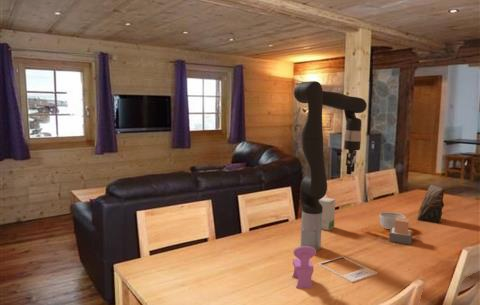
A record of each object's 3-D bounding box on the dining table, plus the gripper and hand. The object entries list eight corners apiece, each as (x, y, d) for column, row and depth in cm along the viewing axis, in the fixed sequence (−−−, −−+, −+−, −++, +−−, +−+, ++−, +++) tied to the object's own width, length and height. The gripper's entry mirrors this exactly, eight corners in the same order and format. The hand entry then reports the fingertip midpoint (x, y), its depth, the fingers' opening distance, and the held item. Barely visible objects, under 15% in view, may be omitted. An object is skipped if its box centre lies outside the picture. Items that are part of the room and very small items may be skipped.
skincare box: (328, 231, 192) (329, 202, 189) (316, 228, 195) (317, 199, 193) (334, 227, 198) (336, 198, 196) (323, 224, 202) (324, 196, 200)
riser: (411, 244, 174) (412, 236, 174) (389, 241, 179) (389, 232, 178) (411, 238, 183) (412, 230, 183) (390, 234, 188) (391, 226, 187)
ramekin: (400, 224, 204) (401, 212, 203) (408, 232, 191) (409, 220, 190) (376, 223, 205) (376, 211, 205) (382, 231, 192) (383, 218, 192)
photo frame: (352, 281, 136) (317, 263, 151) (351, 283, 136) (317, 265, 151) (377, 272, 144) (342, 255, 159) (377, 274, 144) (342, 258, 159)
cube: (407, 234, 176) (408, 222, 176) (394, 232, 179) (395, 220, 178) (408, 230, 182) (409, 218, 181) (394, 228, 184) (395, 217, 184)
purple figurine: (310, 276, 141) (312, 239, 139) (316, 288, 132) (318, 248, 130) (289, 276, 140) (290, 239, 138) (293, 288, 132) (294, 248, 130)
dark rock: (424, 215, 222) (427, 183, 219) (447, 220, 213) (450, 186, 210) (416, 219, 213) (419, 186, 211) (439, 225, 204) (443, 190, 202)
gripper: (358, 141, 169) (356, 176, 171) (362, 139, 182) (360, 171, 184) (341, 140, 172) (339, 174, 174) (347, 138, 185) (345, 170, 187)
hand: (350, 172), depth 179 cm, fingers open, 8 cm apart
